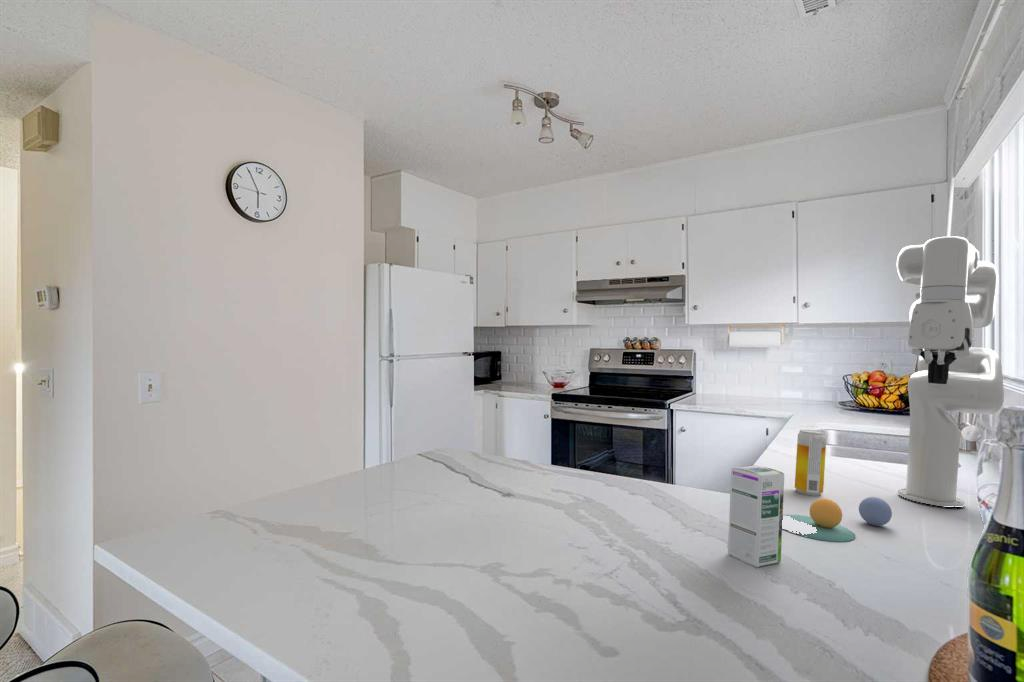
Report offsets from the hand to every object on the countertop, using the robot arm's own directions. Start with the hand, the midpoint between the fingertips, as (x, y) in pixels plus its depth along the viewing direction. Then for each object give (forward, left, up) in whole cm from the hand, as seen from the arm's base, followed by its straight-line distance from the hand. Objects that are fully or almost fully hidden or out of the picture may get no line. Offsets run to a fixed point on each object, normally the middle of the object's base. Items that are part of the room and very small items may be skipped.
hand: (937, 383), depth 110 cm
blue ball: (+11, -11, -26) cm, 31 cm away
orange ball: (+20, -20, -26) cm, 38 cm away
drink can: (-8, -22, -29) cm, 37 cm away
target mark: (+22, -22, -29) cm, 43 cm away
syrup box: (+46, -31, -29) cm, 63 cm away
